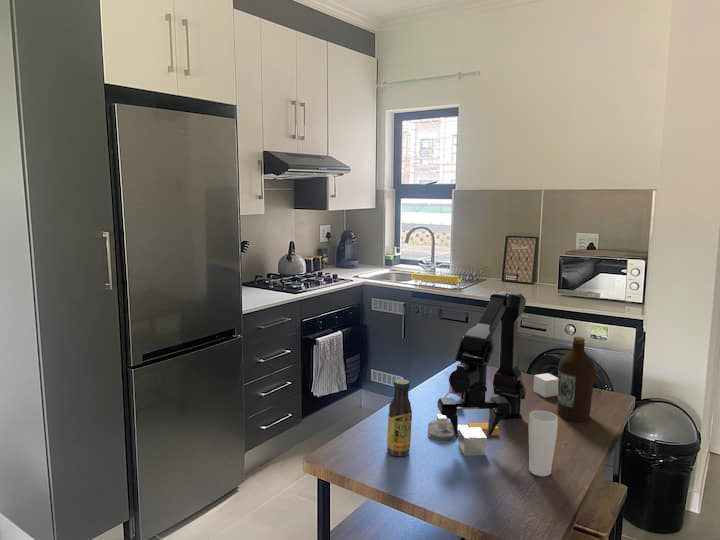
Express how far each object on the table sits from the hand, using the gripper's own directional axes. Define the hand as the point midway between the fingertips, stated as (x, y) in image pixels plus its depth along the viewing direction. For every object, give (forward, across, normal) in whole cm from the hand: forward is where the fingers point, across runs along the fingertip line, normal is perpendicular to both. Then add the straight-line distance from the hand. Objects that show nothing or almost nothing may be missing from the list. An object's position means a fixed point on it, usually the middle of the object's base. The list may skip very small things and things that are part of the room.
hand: (472, 435), depth 144 cm
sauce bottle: (+4, +20, 0) cm, 21 cm away
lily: (+4, -3, -32) cm, 32 cm away
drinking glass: (+4, -14, +12) cm, 19 cm away
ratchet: (+4, 0, -10) cm, 11 cm away
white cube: (+4, -37, -38) cm, 53 cm away
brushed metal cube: (+4, 0, 0) cm, 4 cm away
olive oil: (+4, -38, -20) cm, 43 cm away
